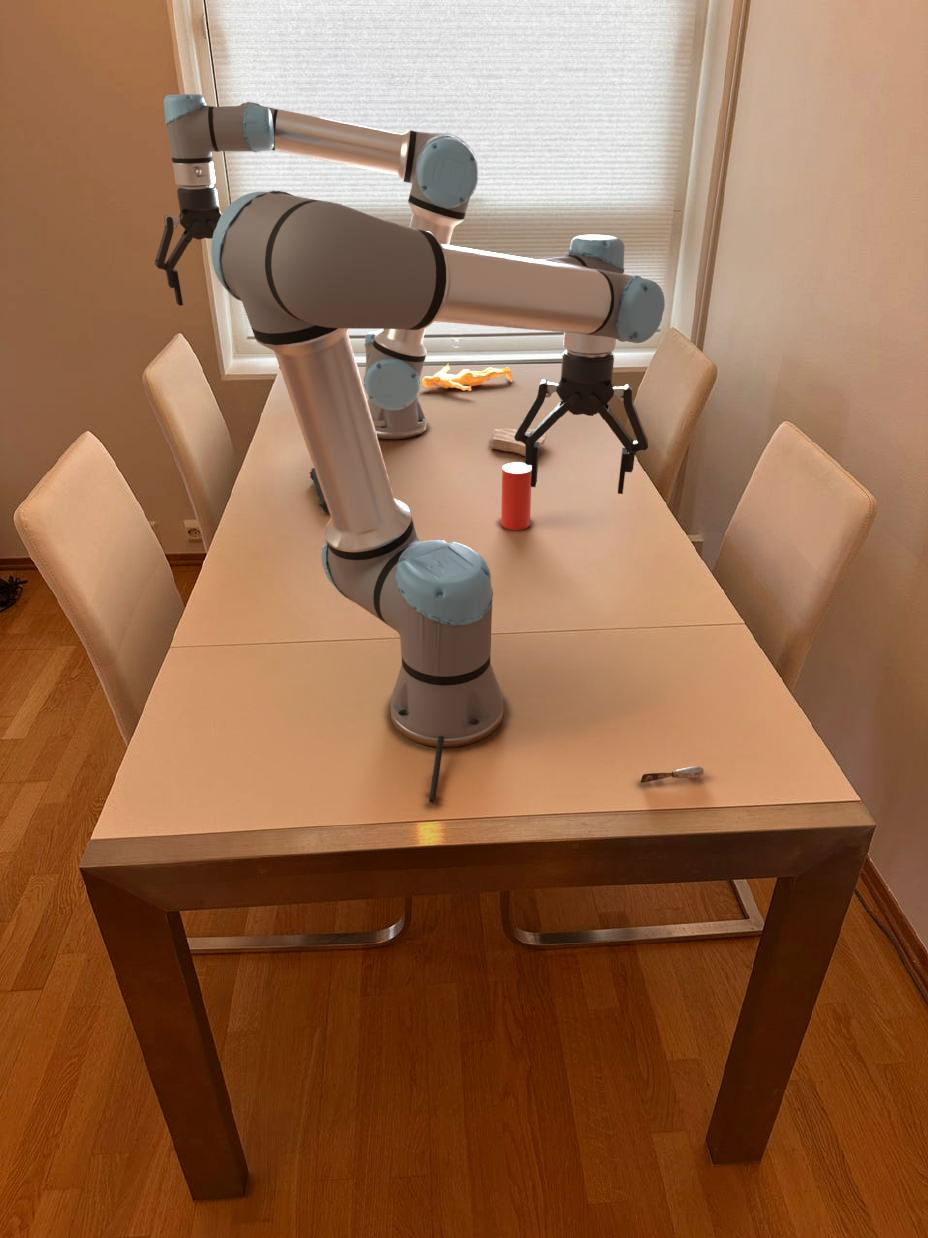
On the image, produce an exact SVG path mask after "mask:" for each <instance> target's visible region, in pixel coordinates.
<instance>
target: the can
mask: <svg viewBox="0 0 928 1238" xmlns="http://www.w3.org/2000/svg"><path fill="white" fill-rule="evenodd" d="M531 471H532V465H526V463H525V462H521V461H520V462H519V461H518V462H517V461H516V462H508V463H505V464H503V465H502V467H501V504H500V505H501V507H500V508H501V511H500V524H501V526H502V528H504V529H507V530H512V531H520V530H524V529H527V528H528V527H530V526H531V508H532V507H531V506H532V487H531Z"/></svg>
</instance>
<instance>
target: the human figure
mask: <svg viewBox="0 0 928 1238" xmlns="http://www.w3.org/2000/svg"><path fill="white" fill-rule="evenodd" d="M450 371H451V369H450V365H449V362H448V363H447V364H446V366H445V367H444V366H443V367H442V369H441V370H439V371H438V372H436V373H435V374H434V375H432V376H429V375H426V376H424V377H423V378H422V380H421V381H422V386H424V387H425V388H429V389H430V388H433V387H436V384H438V385H440V386H441V388H444V389H449V388H451V389H453V388H456V389H460V390H462V391H466V390H467V392H471V391H472V390H473V389H472V387H476V386H479V385H482V384H484V383H485V382H487V381H490V380H493V379H496V378H499V377H502V376H506V378H507V379H508V381H510V382H511V383H512V382H513V375H512V370H511V368H509V367H508V366H507V367H505V368H495V367H487V368H486V369H484V370H482V371H478V370H470V369H468V368H465V369H462V370H460V371H459V372H458V374H451V373H447V372H450Z"/></svg>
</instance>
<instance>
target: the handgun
mask: <svg viewBox="0 0 928 1238" xmlns="http://www.w3.org/2000/svg"><path fill="white" fill-rule="evenodd" d="M309 475H310V476H309V478H310V479H311V480H312V481H313V484H314V488H315V490H316V493H317V496H318V498H319V502H320V503H319V504H317V505H318V507H320V508H322V511H324V513H326V514H330V513H329V510H328V507H327V504H326V501H325V498H324V495H323V492H322V490H321V487H320V484H319V481H318V478H317V475H316V472H315V469H314V467H313V468H311V470H310V471H309Z"/></svg>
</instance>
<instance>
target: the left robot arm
mask: <svg viewBox="0 0 928 1238" xmlns="http://www.w3.org/2000/svg"><path fill="white" fill-rule="evenodd" d="M163 108H164V117H165V122H164V123H165V127H166V132H167V137H168V143H169V150H170V156H171V162H172V168H173V175H174V182H175V183H174V184H175V185H176V186H177V187H178V188H177V190H176V194H177V201H178V207H179V216H170V215H168V214H167V215H165V216H164V218H163V219H164V230H163V232H162V236H161V240H160V243H159V247H158V250H157V253H156V257H155V260H154V265H155V267H157V269H159V270H164V271H165V275H166V281H167V286H168V287H169V288H170V289H173V291H174V297H175V302H176V304H177V305H178V306H181V307H182V306H184V302H183V296H182V291H181V284H180V279H179V277H180V276H179V272H178V270H177V269H175V267H176V265H177V264H178V262H179V260H180V259H181V257H182V256H183V254H184V252H185V251H186V249H187V248H188V245H189V244H190V243H191V242H192V240H193V239H195V240H198V241H199V240H203V239H209V240H210V239H211V240H212V238H213V233H214V230H215V229H216V227H217V223H218V221H219V219H220V217H221V215H222V214H223V213H222V212H221V209H220V203H219V202H220V201H219V195H218V188H216V187H215V184H216V183H217V182H216V174H215V168H214V162H213V161H214V159H213V152H215V153H218V152H240V153H241V152H253V153H260V152H268V151H274V152H281V153H285V154H290V155H294V156H295V155H296V156H300V157H305V158H308V159H309V158H310V159H315V160H319V161H324V162H330V163H334V164H340V165H345V166H350V167H354V168H359V169H365V170H370V171H375V172H380V173H383V174H388V175H389V174H390V175H394V176H397V177H398V178H399V179H400V181H401V182H402V183H408V184H411V187H410V191H409V192H410V193H409V194H408V195H409V196H408V200H407V204H408V206H409V208H410V210H411V212H412V216H411V218H410V219H411V220H410V223H409V227H410V228H414V229H420V230H425V231H428V232H431V233H432V234H434V235H435V236H436V237H437V238H438V240H439V241H440V242H441V244H444V245H451V240H452V236H453V232H454V229H455V227H456V226H458V225H459V224H461V223H462V222H464V221H465V218H466V214H467V212H468V211H467V210H468V208H469V204H470V200H471V197H472V196H473V194H474V192H475V191H476V189H477V186H478V183H479V177H480V170H479V163H478V159H477V157H476V154H475V152H474V150H473V149H472V148H471V146H469V144H468V143H466V141H465V140H463V139H461V138H460V137H459V136H456V135H455V134H452V133H445V132H424V131H416V130H411V129H407V131H405V132H404V133H399V132H394V131H393V132H392V131H388V130H383V129H379V128H373V127H370V126H369V127H368V126H363V125H358V124H354V123H348V122H344V121H338V120H334V119H330V118H324V117H319V116H314V115H309V114H304V113H299V112H294V111H289V110H284V109H279V108H274V107H270V106H264V105H261V104H259V103H256V102H249V101H247V102H242V103H241V104H239V105H229V106H214V105H213V106H211V105H207V103H206V100H205V96H203V95H202V94H200V93H175V94H167V95H166V96H165V97H164V99H163ZM178 224H180V226H182V228H183V229H184V230H183V232H182V233H181V235H180V236H181V237H180V238H179V240H178V241H177V243H176V245H175V247H174V249H173V250H172V252H171V254H170V255H169V256H168V259H167V255H168V252H169V248H170V245H171V241H172V238H173V235H174V230H175V229H176V228H177V227H178ZM426 331H427V327H426V328H424V329H422V330H407V329H378V330H373V331H369V332H367V333H366V334H365V337H364V348H365V372H364V377H363V388H364V391H365V393H366V394H367V395H366V396H367V397H368V399H367V402H368V406H369V409H370V413H371V417H372V420H373V424H374V427H375V431H376V434H377V438H378V439H383V440H402V439H403V440H404V439H409V438H413V437H417V436H419V435H421V434H423V433H424V432H425V431H426V430H427V419H426V414H425V412H424V409H423V407H422V404H421V401H420V399H419V398H420V397H419V392H420V390H421V387H420V386H421V375H422V372H423V368H424V364H425V360H426V356H427V353H428V351H427V349H426V347H425V345H424V343H423V341H424V338H425V334H426Z"/></svg>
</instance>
